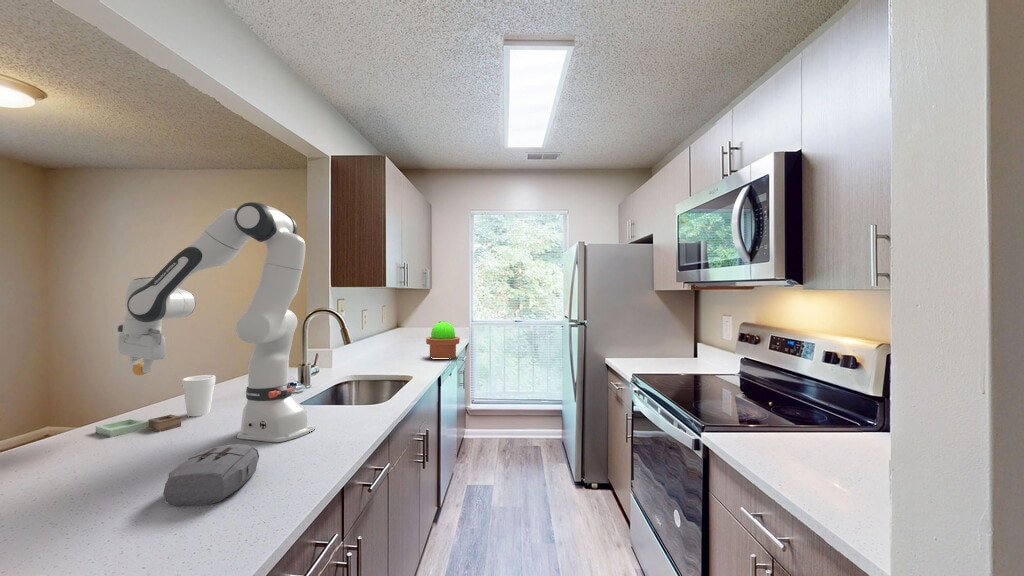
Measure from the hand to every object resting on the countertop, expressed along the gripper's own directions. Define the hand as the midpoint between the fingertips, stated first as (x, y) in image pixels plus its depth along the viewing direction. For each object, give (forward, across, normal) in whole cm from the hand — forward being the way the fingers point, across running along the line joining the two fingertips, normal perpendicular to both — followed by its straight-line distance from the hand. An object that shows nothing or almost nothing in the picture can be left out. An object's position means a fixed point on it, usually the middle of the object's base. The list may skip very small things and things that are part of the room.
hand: (140, 371), depth 127 cm
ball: (-1, 0, 0) cm, 1 cm away
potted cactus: (+16, -10, -158) cm, 159 cm away
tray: (+18, +3, +3) cm, 19 cm away
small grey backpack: (+17, -62, +12) cm, 65 cm away
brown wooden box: (+18, -6, -4) cm, 20 cm away
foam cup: (+18, 0, -17) cm, 25 cm away
